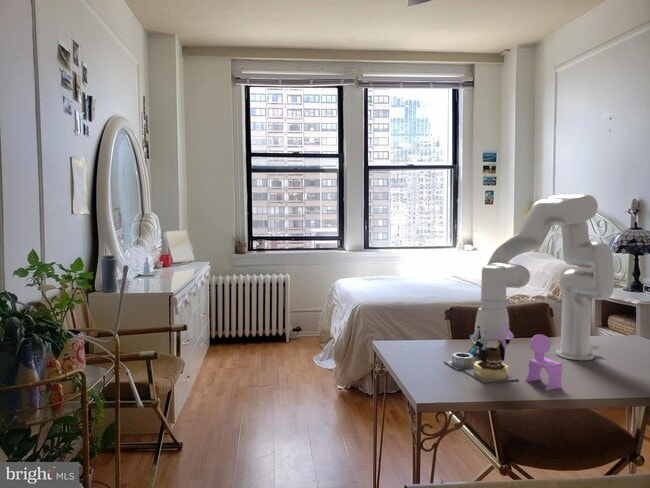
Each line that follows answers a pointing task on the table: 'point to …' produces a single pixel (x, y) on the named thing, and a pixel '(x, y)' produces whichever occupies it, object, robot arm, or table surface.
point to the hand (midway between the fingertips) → (491, 359)
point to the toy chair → (544, 363)
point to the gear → (473, 347)
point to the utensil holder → (493, 357)
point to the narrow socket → (461, 361)
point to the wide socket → (491, 374)
